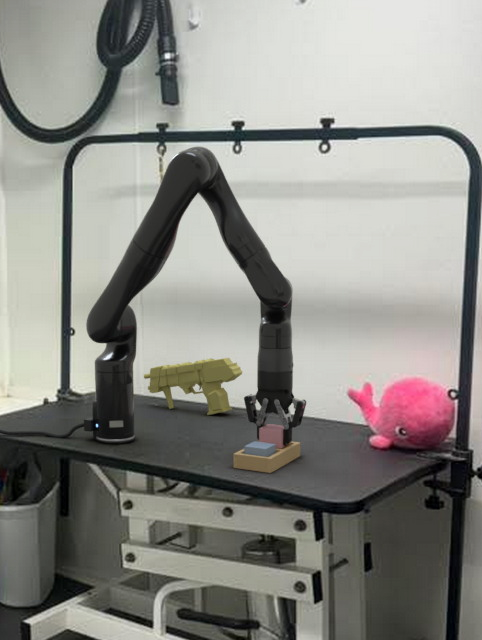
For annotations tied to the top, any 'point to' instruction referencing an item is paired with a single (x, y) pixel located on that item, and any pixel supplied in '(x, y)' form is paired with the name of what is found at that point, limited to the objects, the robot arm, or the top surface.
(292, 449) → the pad holder
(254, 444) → the blue block
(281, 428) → the pink block
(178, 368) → the firearm
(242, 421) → the top surface
